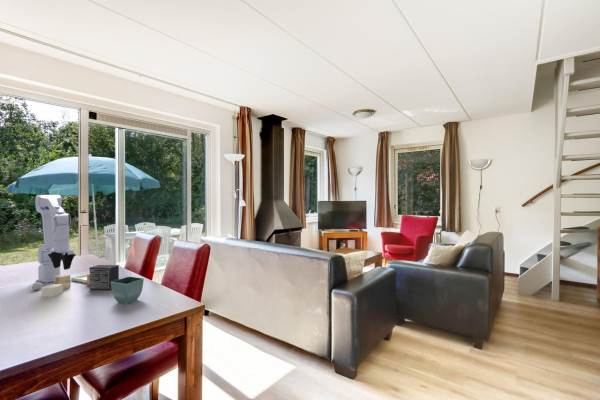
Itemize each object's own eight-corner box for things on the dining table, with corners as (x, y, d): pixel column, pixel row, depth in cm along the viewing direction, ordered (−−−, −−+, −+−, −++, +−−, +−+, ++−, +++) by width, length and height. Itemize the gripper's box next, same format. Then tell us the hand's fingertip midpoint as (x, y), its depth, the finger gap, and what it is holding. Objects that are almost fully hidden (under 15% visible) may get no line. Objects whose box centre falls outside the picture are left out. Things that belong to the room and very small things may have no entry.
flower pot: (144, 299, 125) (144, 278, 125) (126, 306, 117) (126, 284, 117) (129, 296, 128) (128, 276, 128) (110, 303, 120) (109, 281, 119)
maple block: (53, 289, 138) (53, 276, 138) (64, 286, 142) (64, 274, 142) (59, 290, 136) (59, 277, 136) (70, 287, 140) (70, 275, 140)
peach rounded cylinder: (85, 284, 145) (84, 274, 145) (94, 282, 149) (94, 272, 149) (90, 285, 143) (90, 275, 143) (99, 283, 147) (99, 273, 147)
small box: (120, 286, 142) (119, 264, 142) (110, 290, 136) (109, 268, 136) (99, 285, 143) (99, 264, 143) (88, 289, 137) (88, 267, 137)
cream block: (42, 296, 128) (42, 287, 128) (52, 293, 133) (52, 284, 133) (53, 297, 128) (53, 287, 128) (63, 293, 133) (63, 284, 133)
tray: (71, 280, 151) (71, 277, 151) (95, 274, 162) (95, 271, 162) (86, 283, 146) (86, 280, 146) (110, 277, 157) (110, 273, 157)
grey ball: (30, 290, 136) (29, 282, 136) (39, 288, 139) (39, 280, 139) (34, 291, 134) (34, 283, 134) (44, 289, 138) (43, 281, 138)
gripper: (42, 240, 138) (42, 268, 138) (61, 241, 132) (61, 272, 132) (59, 237, 144) (59, 265, 144) (78, 239, 139) (78, 268, 139)
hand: (62, 268), depth 139 cm, fingers open, 7 cm apart
